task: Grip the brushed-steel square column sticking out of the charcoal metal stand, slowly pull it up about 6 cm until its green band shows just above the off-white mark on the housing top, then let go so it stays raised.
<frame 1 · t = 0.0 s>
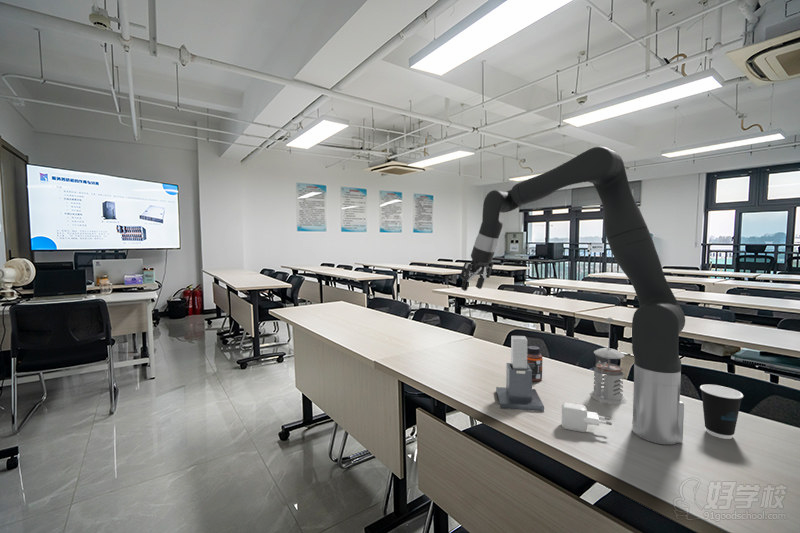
hand: (471, 288, 128), 31 cm above the table, tool tilted 20°, fingers open, 8 cm apart
power adapter: (585, 430, 90), on the table
dixie cup: (719, 434, 87), on the table
stand housing: (518, 400, 107), on the table
supplement bottle: (533, 379, 124), on the table
french press: (606, 398, 108), on the table
column: (518, 366, 106), point 11 cm above the table, slide at 0.0 cm
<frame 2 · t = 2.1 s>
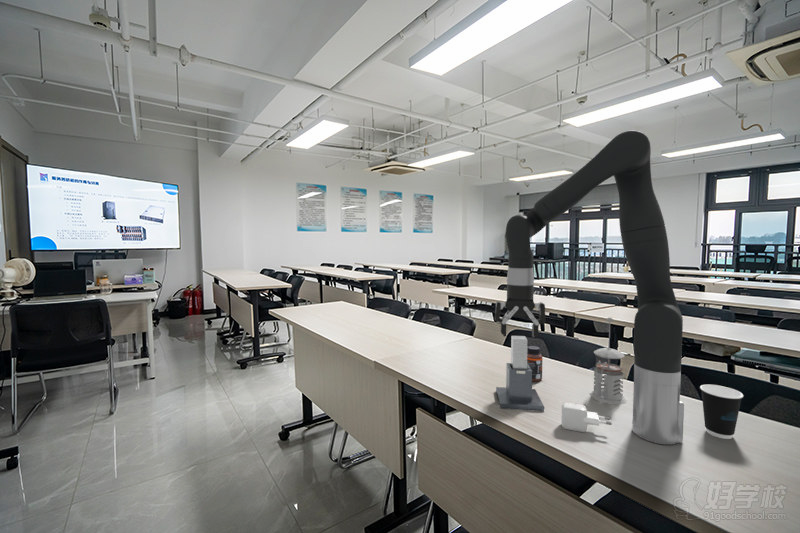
hand: (519, 336, 106), 20 cm above the table, tool pointing down, fingers open, 8 cm apart
nothing on the table moved.
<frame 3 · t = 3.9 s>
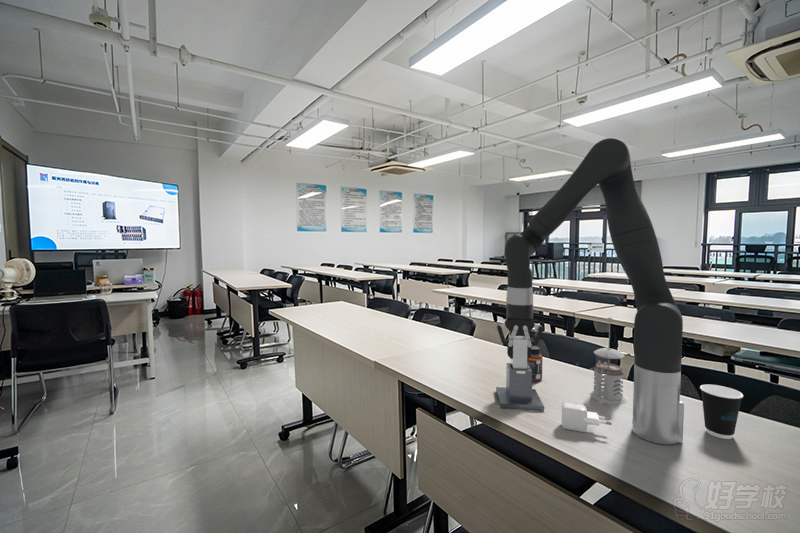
hand: (519, 358, 106), 13 cm above the table, tool pointing down, fingers closed on column, 4 cm apart
column: (518, 366, 106), point 11 cm above the table, slide at 0.0 cm, touching gripper
everything else where it was.
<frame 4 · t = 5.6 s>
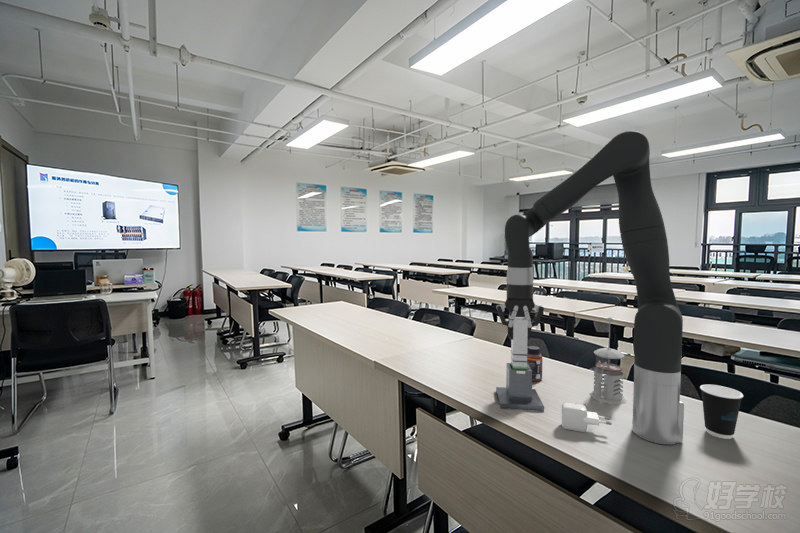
hand: (519, 338, 106), 19 cm above the table, tool pointing down, fingers closed on column, 4 cm apart
column: (519, 347, 106), point 16 cm above the table, slide at 5.9 cm, touching gripper
everything else where it was.
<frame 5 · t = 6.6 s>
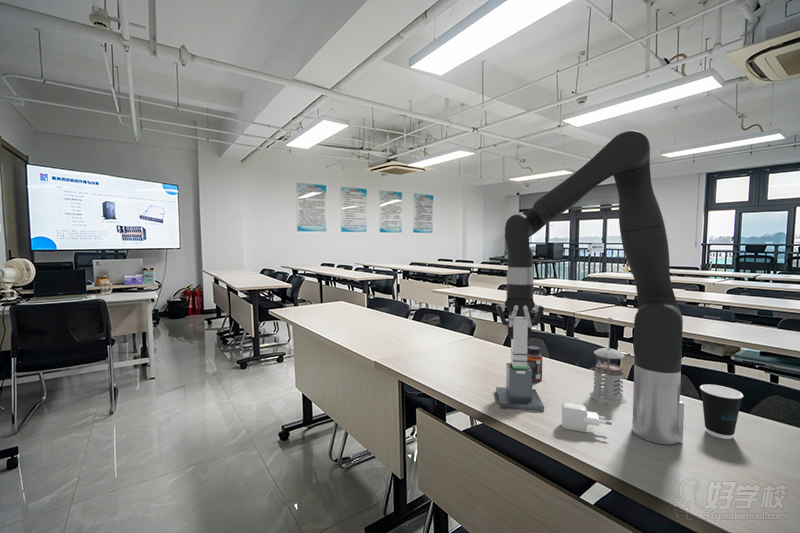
hand: (519, 338, 106), 19 cm above the table, tool pointing down, fingers closed on column, 4 cm apart
column: (519, 347, 106), point 17 cm above the table, slide at 5.9 cm, touching gripper
everything else where it was.
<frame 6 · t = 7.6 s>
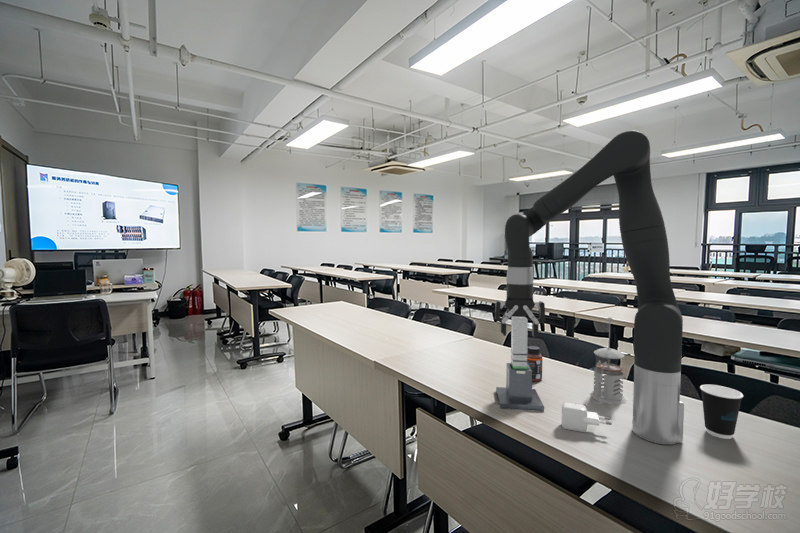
hand: (519, 335, 106), 20 cm above the table, tool pointing down, fingers open, 8 cm apart
column: (519, 347, 106), point 17 cm above the table, slide at 5.9 cm
everything else where it was.
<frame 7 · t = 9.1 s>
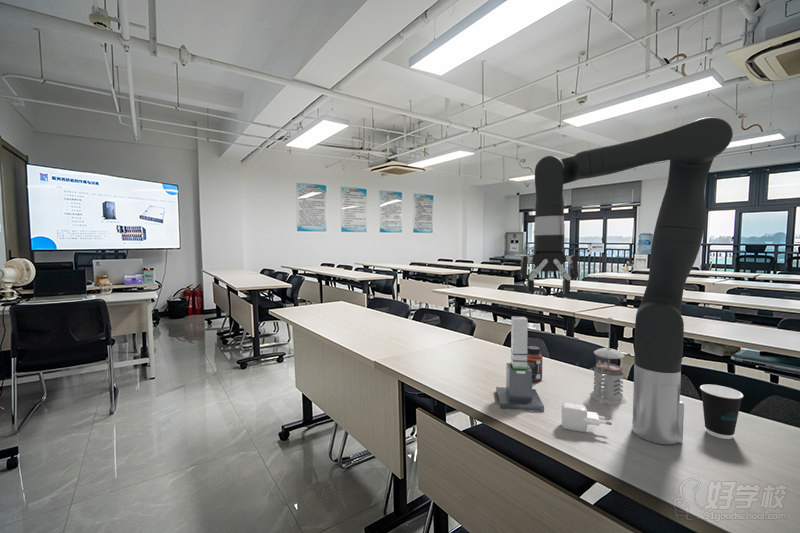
hand: (548, 294, 95), 34 cm above the table, tool pointing down, fingers open, 8 cm apart
nothing on the table moved.
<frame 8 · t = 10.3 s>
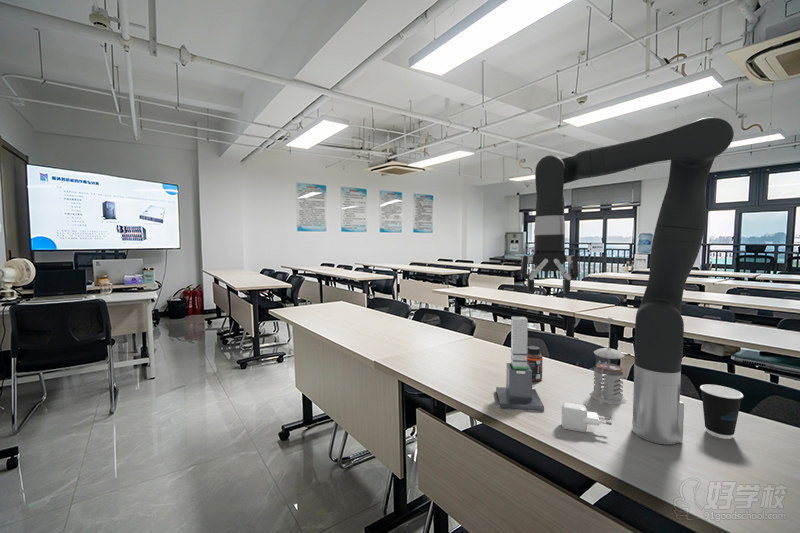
hand: (548, 293, 95), 34 cm above the table, tool pointing down, fingers open, 8 cm apart
nothing on the table moved.
at the end: column slide at 5.9 cm; the gripper is holding nothing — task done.
